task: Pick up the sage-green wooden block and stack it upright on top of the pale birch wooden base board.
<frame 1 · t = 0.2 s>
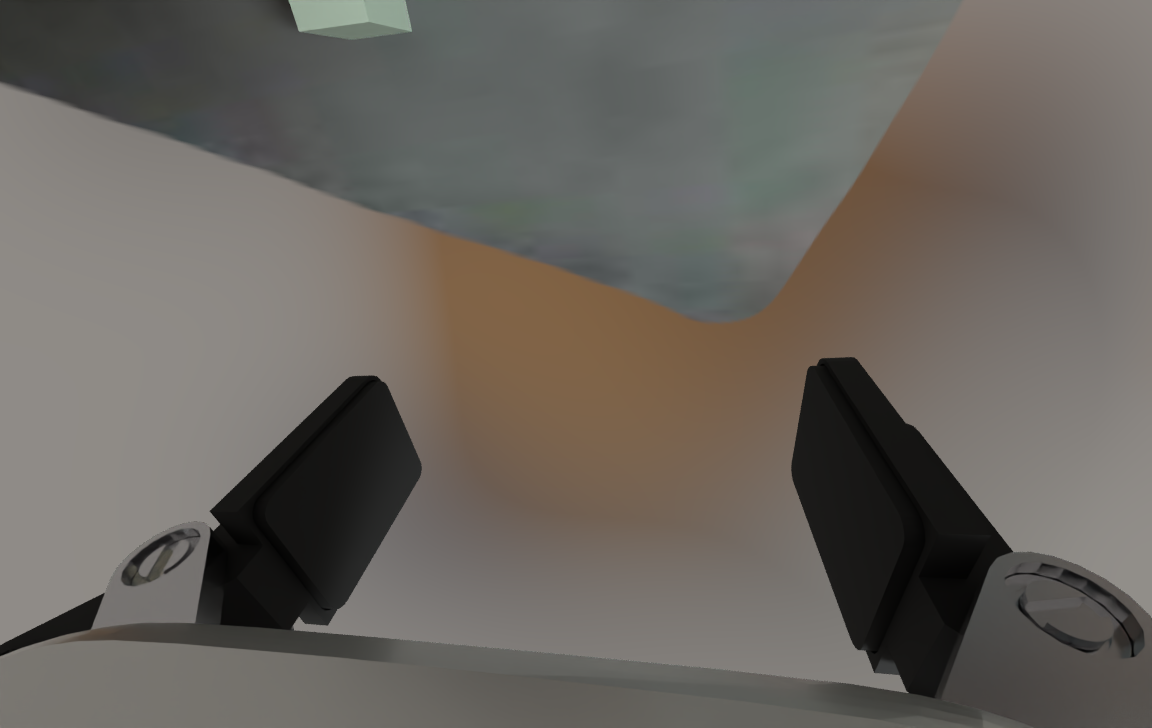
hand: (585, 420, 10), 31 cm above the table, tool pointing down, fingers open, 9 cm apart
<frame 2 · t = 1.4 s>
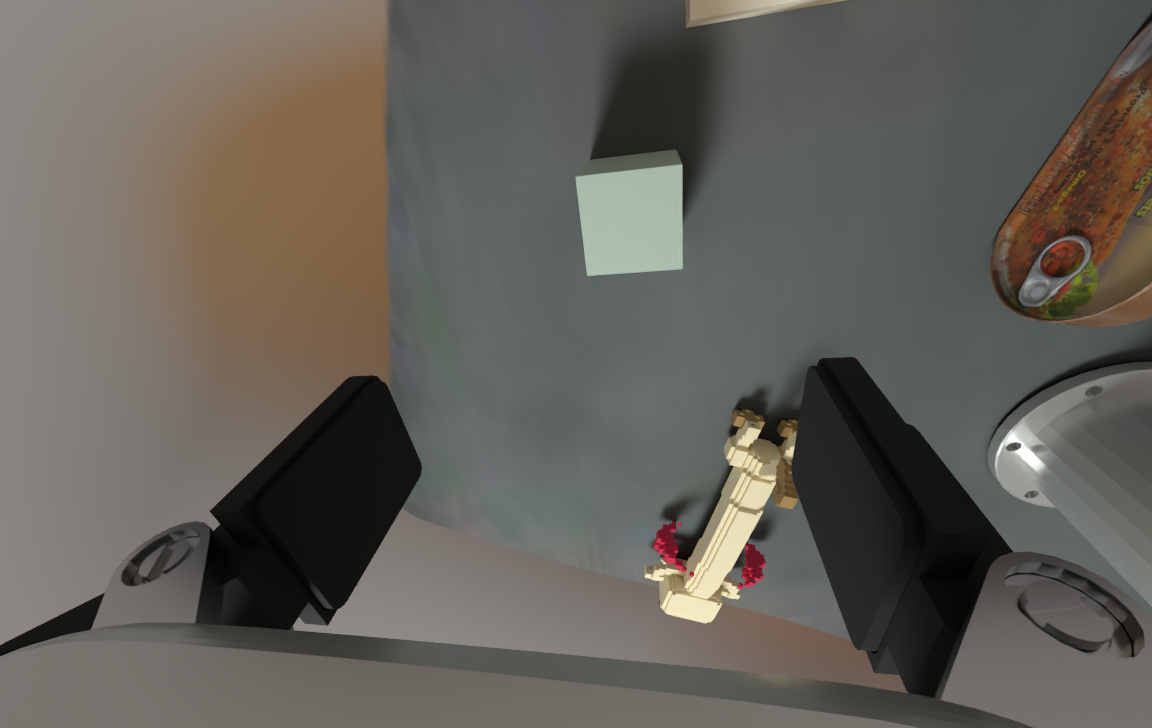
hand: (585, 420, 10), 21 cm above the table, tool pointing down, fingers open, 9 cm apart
block: (634, 199, 27), on the table
cream elongated piece: (715, 511, 41), on the table
tin: (1081, 152, 23), on the table
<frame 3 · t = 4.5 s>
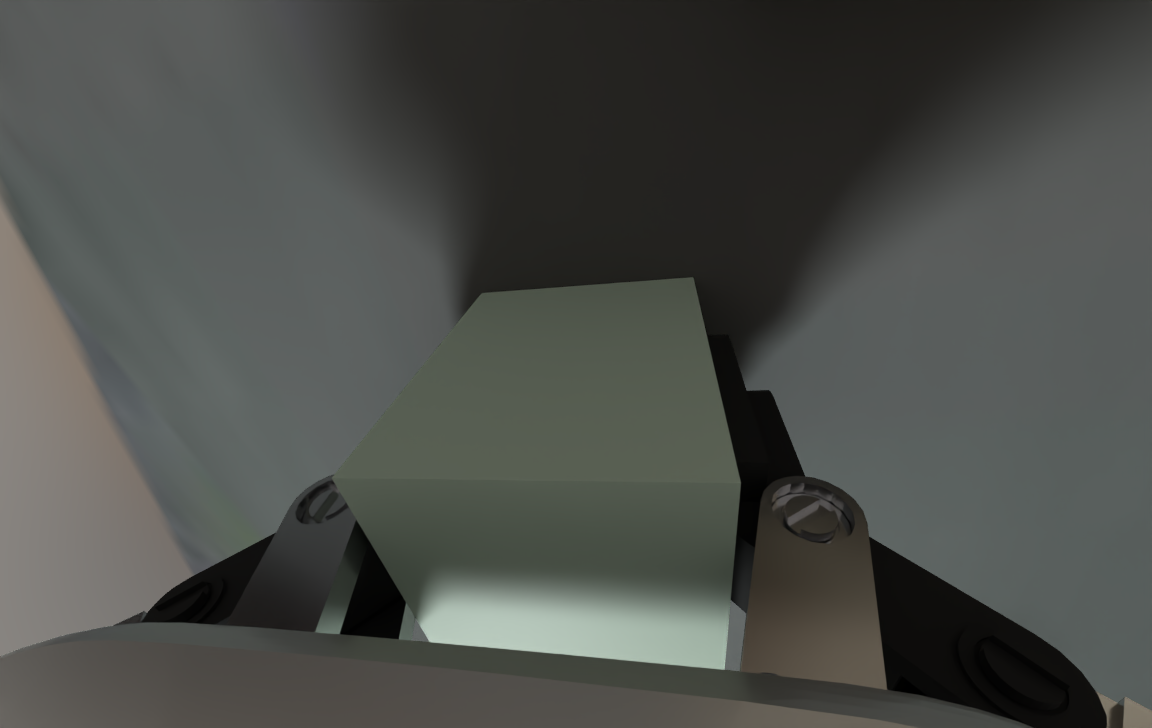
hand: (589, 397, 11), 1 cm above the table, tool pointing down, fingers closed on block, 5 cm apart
block: (594, 374, 11), on the table, touching gripper
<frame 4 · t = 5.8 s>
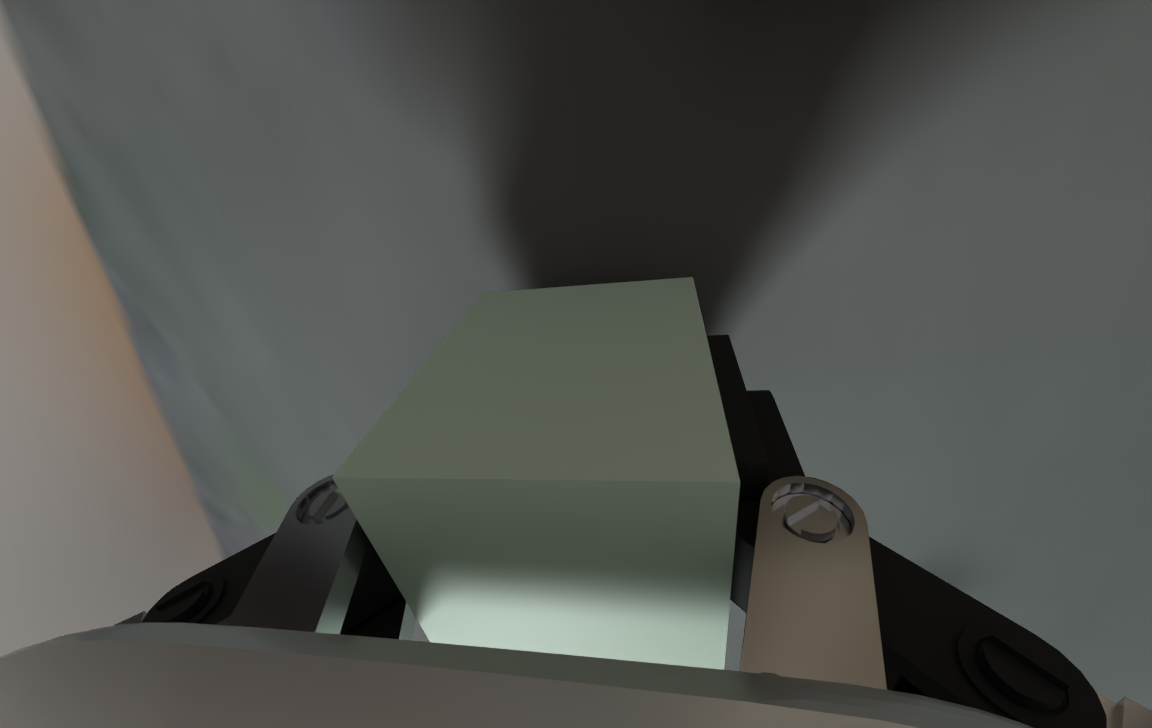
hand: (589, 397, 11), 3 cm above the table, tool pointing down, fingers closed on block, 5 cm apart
block: (594, 374, 11), point 2 cm above the table, touching gripper
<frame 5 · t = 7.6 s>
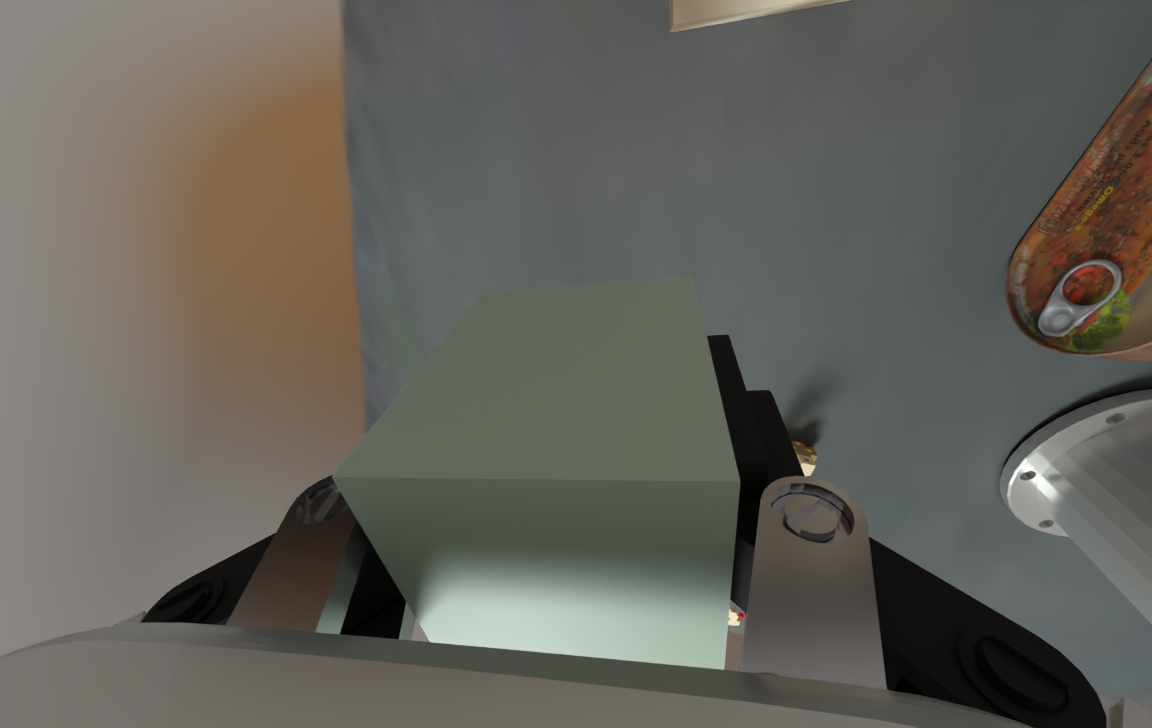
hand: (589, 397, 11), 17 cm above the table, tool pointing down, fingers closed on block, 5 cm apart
block: (594, 374, 11), point 16 cm above the table, touching gripper
cream elongated piece: (713, 534, 39), on the table
tin: (1106, 165, 20), on the table
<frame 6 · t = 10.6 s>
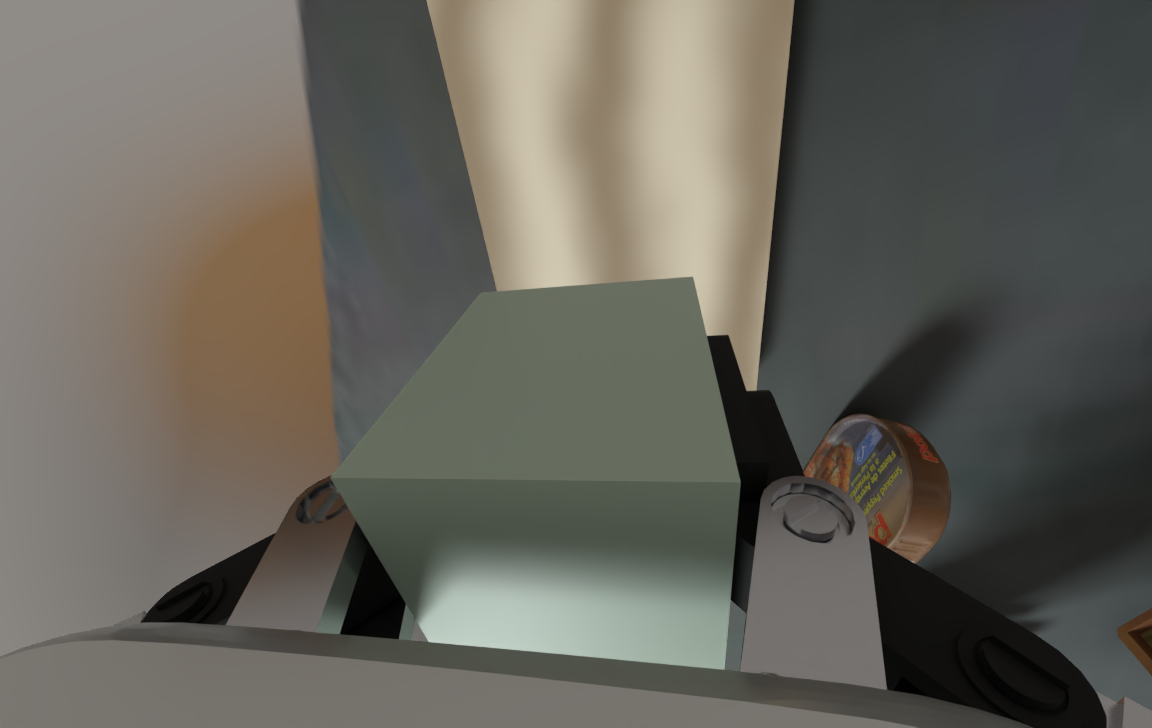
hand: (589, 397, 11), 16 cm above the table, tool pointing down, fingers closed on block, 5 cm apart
base block: (624, 226, 24), on the table
block: (594, 374, 11), point 15 cm above the table, touching gripper
tin: (823, 471, 32), on the table
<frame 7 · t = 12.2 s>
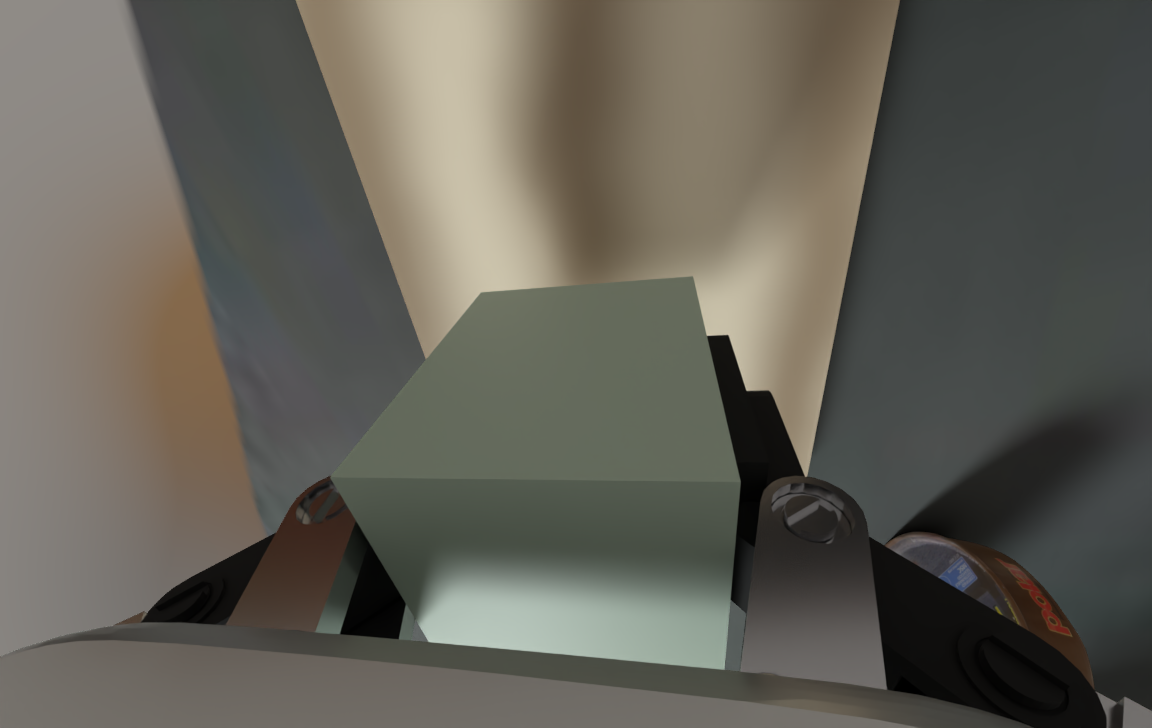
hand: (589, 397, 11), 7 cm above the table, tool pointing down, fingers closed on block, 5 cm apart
base block: (614, 285, 17), on the table
block: (594, 374, 11), point 6 cm above the table, touching gripper
tin: (875, 585, 24), on the table
when the fingers open (5 cm above the table, at t = 13.6 s): block drops 1 cm, resting on base block.
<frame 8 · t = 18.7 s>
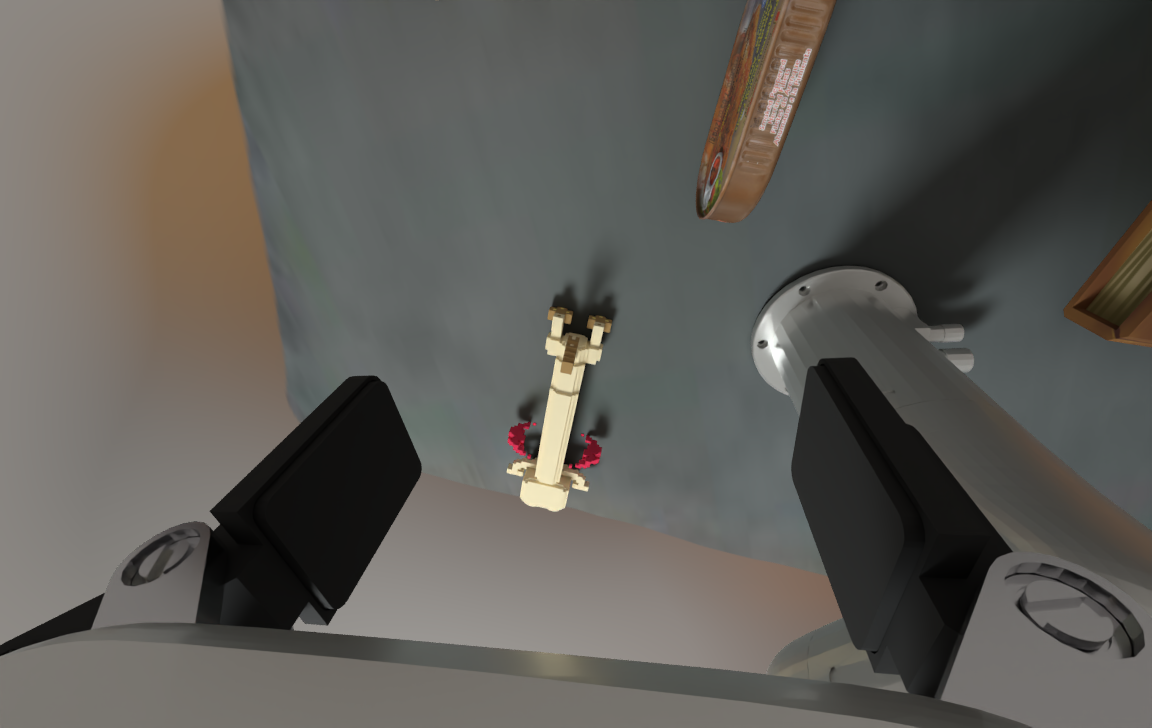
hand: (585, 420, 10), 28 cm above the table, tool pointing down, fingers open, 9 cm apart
cream elongated piece: (562, 411, 47), on the table
tin: (743, 93, 30), on the table
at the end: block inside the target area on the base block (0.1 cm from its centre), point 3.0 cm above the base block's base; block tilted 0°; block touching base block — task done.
